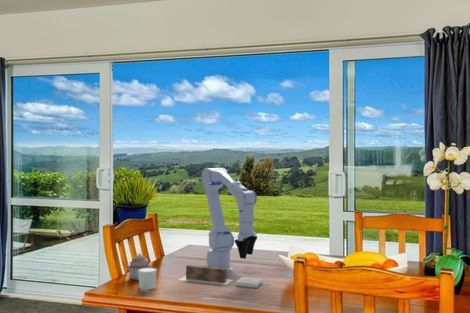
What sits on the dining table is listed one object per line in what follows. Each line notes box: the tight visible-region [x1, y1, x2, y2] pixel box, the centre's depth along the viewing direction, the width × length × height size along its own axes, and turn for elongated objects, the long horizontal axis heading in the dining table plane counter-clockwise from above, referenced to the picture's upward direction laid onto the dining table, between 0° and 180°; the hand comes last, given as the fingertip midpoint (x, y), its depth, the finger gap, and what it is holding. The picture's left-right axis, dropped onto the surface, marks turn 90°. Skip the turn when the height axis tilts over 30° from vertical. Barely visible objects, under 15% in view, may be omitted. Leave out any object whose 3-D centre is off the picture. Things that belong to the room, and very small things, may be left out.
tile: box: [235, 276, 263, 289], centre depth 178 cm, size 2×7×8 cm
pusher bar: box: [185, 264, 227, 283], centre depth 184 cm, size 16×2×5 cm, turn 70°
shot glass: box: [138, 267, 158, 292], centre depth 173 cm, size 7×7×7 cm
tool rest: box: [178, 275, 233, 286], centre depth 184 cm, size 20×8×1 cm, turn 70°
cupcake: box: [127, 253, 152, 281], centre depth 187 cm, size 9×9×10 cm
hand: (246, 256), depth 185 cm, fingers open, 7 cm apart
